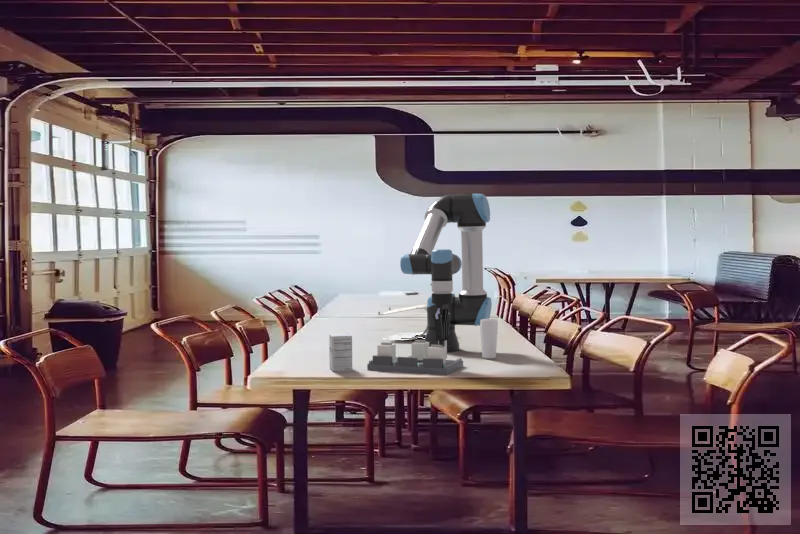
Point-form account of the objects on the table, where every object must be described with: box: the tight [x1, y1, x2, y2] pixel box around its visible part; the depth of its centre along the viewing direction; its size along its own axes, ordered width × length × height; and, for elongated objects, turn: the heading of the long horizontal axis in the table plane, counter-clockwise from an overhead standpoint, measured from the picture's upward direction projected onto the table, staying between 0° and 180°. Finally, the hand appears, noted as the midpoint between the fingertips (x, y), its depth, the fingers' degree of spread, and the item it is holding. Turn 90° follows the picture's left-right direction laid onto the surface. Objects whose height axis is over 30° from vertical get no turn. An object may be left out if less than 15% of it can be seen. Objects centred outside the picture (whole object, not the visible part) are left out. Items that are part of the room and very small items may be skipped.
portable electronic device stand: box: [377, 303, 427, 341], centre depth 354 cm, size 26×24×16 cm
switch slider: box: [427, 345, 447, 365], centre depth 262 cm, size 5×5×7 cm
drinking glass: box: [479, 318, 499, 360], centre depth 290 cm, size 7×7×15 cm
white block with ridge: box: [411, 339, 429, 360], centre depth 274 cm, size 5×5×7 cm
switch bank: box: [366, 355, 464, 376], centre depth 270 cm, size 18×30×5 cm, turn 68°
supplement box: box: [328, 332, 353, 373], centre depth 268 cm, size 7×7×13 cm
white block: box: [376, 341, 397, 362], centre depth 269 cm, size 5×5×7 cm
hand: (442, 358), depth 268 cm, fingers closed
